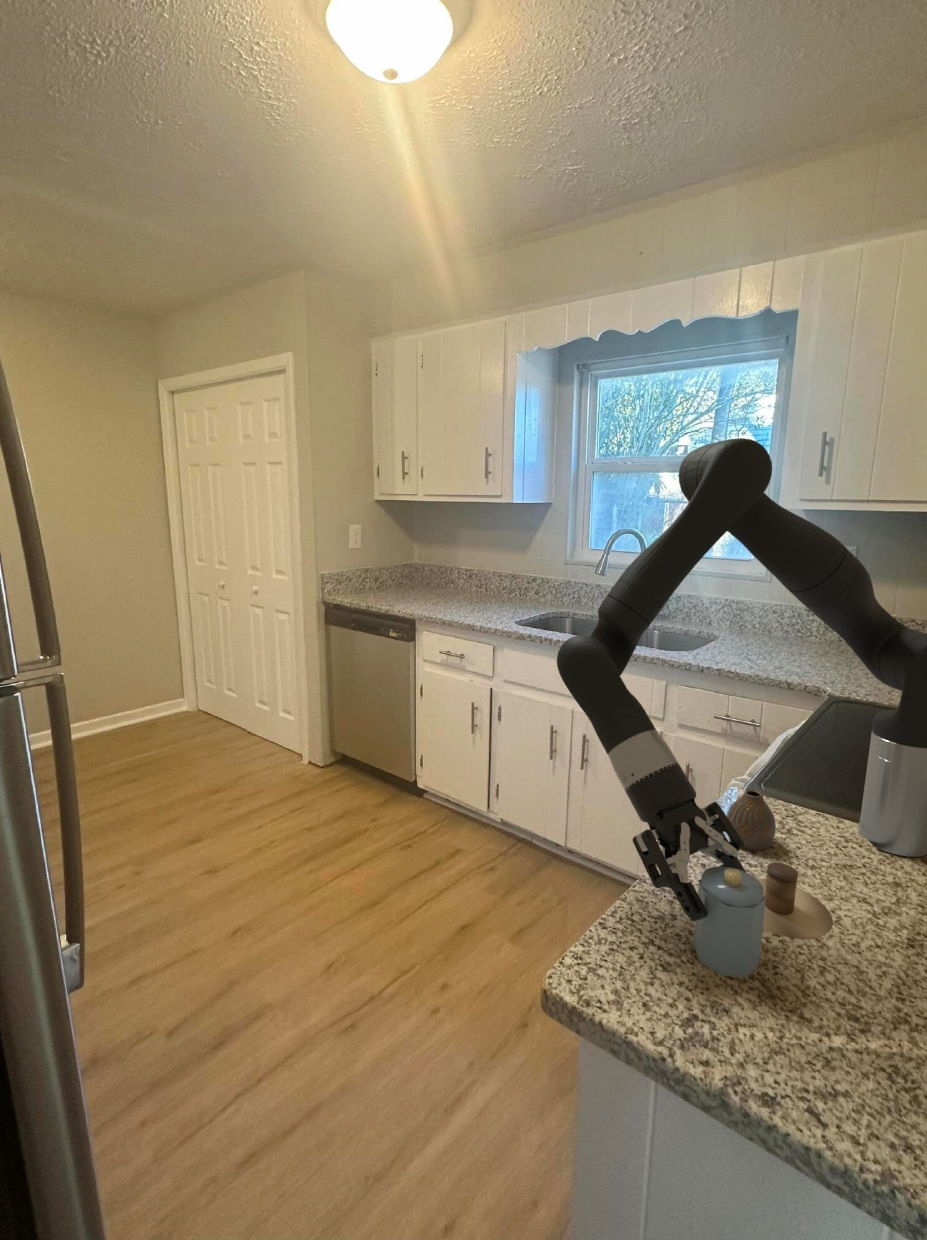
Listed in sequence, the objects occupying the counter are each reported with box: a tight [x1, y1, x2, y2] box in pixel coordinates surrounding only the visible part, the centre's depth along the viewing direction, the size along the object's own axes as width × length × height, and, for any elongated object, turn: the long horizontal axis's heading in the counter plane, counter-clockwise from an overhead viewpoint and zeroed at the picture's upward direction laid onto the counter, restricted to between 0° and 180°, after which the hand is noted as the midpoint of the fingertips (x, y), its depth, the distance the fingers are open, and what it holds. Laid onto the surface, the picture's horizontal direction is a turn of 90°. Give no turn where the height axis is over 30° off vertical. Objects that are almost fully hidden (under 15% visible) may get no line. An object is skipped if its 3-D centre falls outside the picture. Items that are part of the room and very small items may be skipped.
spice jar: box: [765, 862, 799, 915], centre depth 80 cm, size 4×4×5 cm
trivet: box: [756, 878, 833, 940], centre depth 80 cm, size 12×12×1 cm
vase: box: [726, 789, 777, 852], centre depth 95 cm, size 7×7×9 cm
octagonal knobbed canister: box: [693, 865, 766, 978], centre depth 70 cm, size 6×6×11 cm
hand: (724, 905), depth 71 cm, fingers open, 8 cm apart
